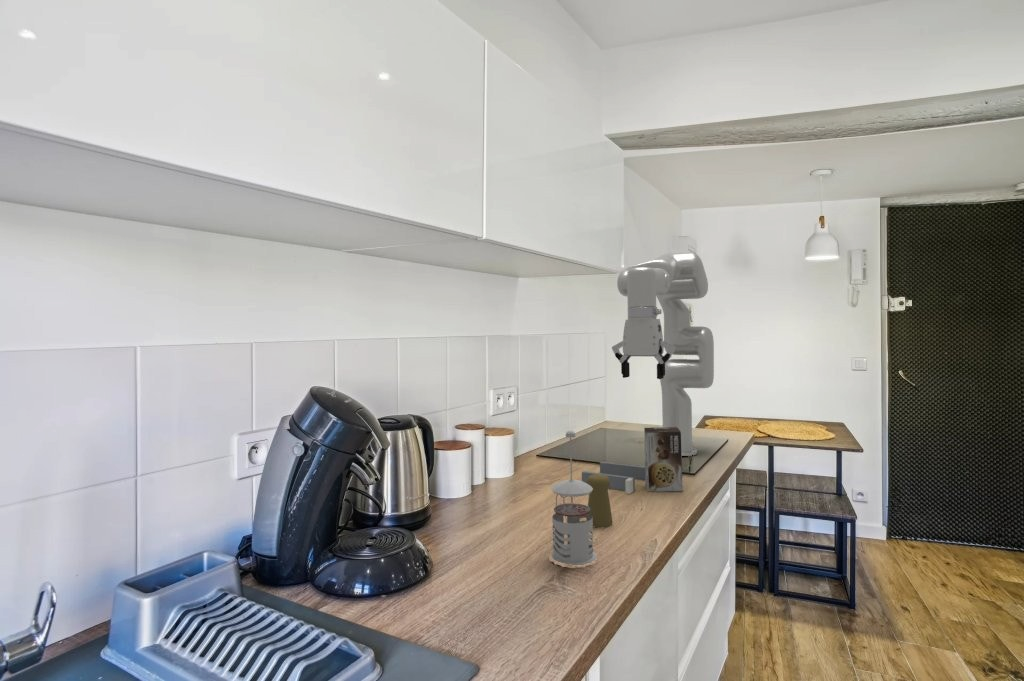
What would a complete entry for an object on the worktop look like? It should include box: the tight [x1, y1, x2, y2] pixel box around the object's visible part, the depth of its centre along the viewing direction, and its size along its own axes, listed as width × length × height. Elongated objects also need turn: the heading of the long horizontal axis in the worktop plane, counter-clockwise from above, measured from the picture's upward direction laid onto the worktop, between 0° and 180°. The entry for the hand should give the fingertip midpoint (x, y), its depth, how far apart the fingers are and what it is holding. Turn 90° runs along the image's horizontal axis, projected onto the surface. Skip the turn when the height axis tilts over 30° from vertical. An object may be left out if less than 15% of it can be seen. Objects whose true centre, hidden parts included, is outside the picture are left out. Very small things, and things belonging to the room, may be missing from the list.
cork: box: [585, 474, 614, 528], centre depth 137 cm, size 6×6×11 cm
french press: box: [550, 430, 597, 565], centre depth 118 cm, size 10×12×25 cm
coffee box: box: [644, 426, 684, 492], centre depth 162 cm, size 9×6×16 cm
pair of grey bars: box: [581, 461, 646, 495], centre depth 170 cm, size 18×15×4 cm
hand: (642, 377), depth 162 cm, fingers open, 9 cm apart
